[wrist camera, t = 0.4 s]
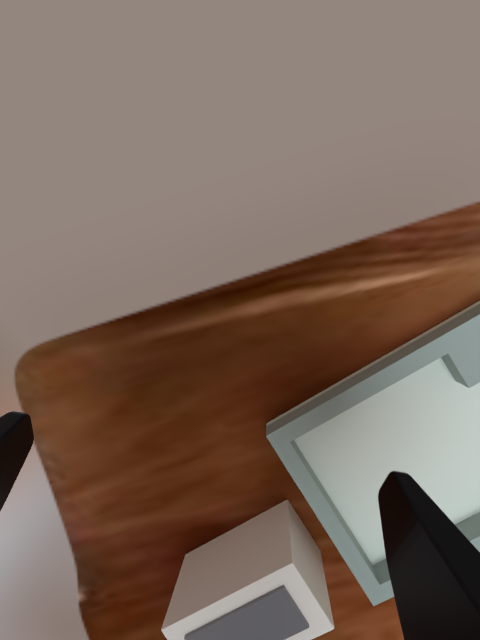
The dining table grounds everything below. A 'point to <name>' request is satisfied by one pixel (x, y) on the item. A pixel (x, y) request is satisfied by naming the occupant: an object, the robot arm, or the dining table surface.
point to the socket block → (253, 584)
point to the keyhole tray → (391, 442)
